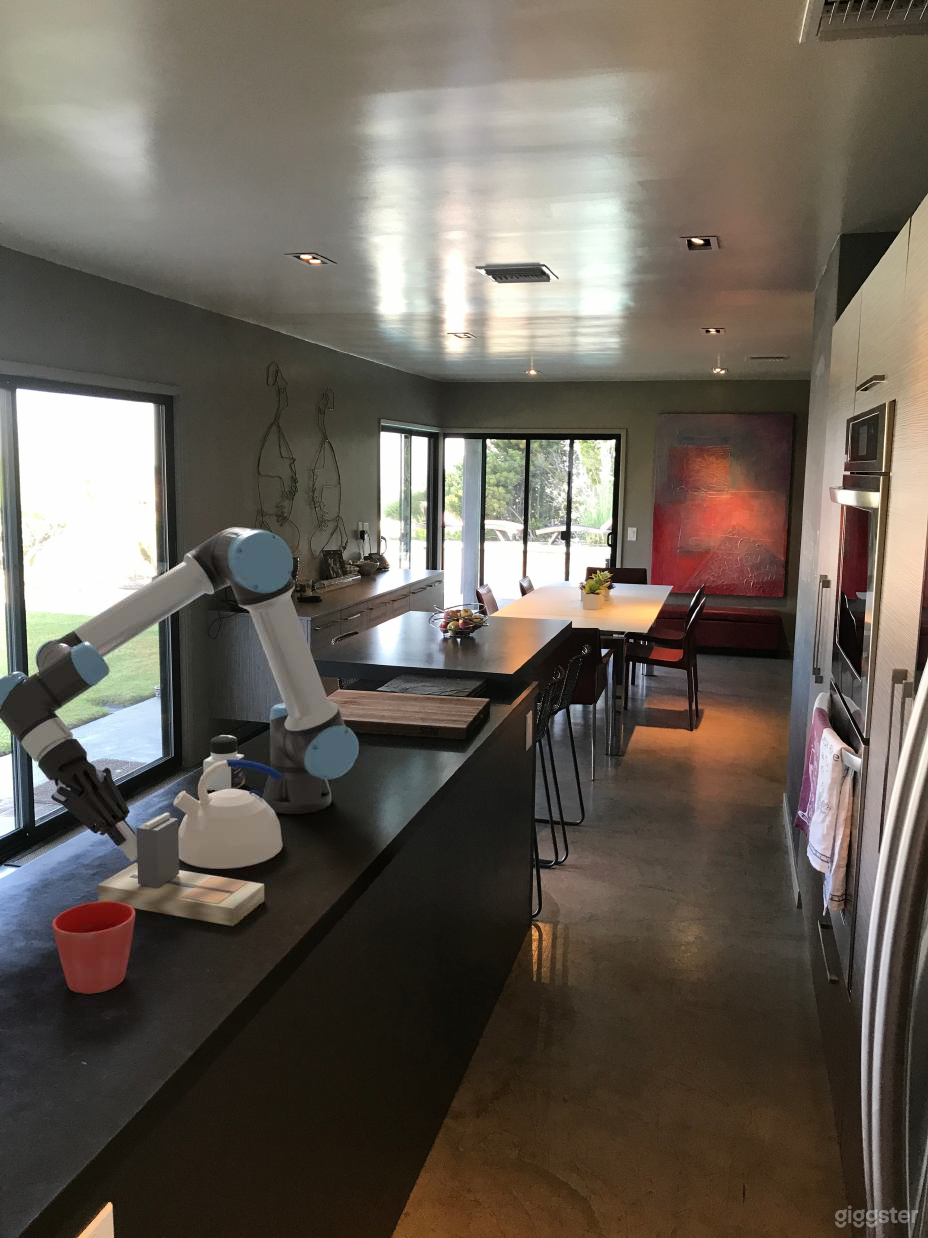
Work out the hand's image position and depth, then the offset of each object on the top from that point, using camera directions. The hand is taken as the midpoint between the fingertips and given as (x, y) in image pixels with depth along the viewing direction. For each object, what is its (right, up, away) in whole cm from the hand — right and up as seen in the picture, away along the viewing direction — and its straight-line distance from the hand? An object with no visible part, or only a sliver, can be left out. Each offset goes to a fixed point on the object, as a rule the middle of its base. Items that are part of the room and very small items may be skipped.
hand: (138, 855), depth 161 cm
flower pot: (+3, -12, -26) cm, 29 cm away
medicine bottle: (-1, +1, +60) cm, 60 cm away
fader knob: (+3, -4, +1) cm, 5 cm away
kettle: (+10, -5, +23) cm, 26 cm away
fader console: (+7, -8, 0) cm, 11 cm away
